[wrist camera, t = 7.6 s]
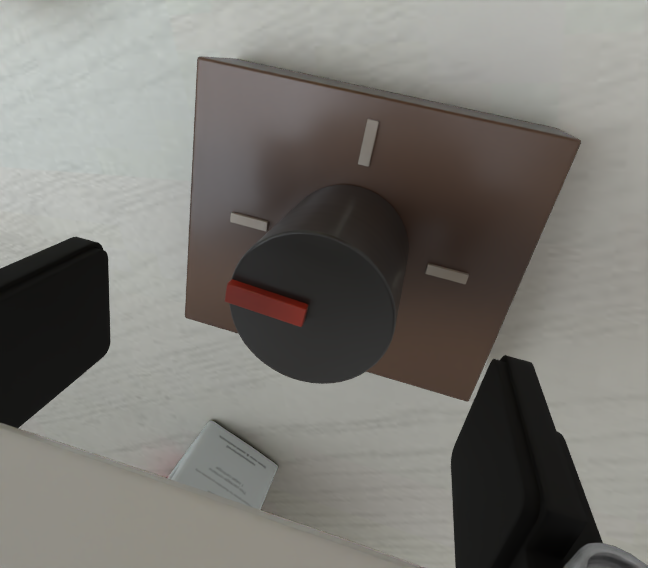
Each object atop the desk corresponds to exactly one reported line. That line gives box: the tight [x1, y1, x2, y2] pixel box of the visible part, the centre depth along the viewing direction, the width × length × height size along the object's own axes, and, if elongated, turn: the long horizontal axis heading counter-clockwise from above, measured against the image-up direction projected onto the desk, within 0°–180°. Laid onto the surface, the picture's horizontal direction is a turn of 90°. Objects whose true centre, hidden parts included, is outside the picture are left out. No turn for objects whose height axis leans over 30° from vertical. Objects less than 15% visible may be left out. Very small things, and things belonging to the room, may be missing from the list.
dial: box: [225, 185, 409, 384], centre depth 14 cm, size 4×4×5 cm
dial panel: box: [185, 57, 581, 401], centre depth 17 cm, size 10×12×3 cm
